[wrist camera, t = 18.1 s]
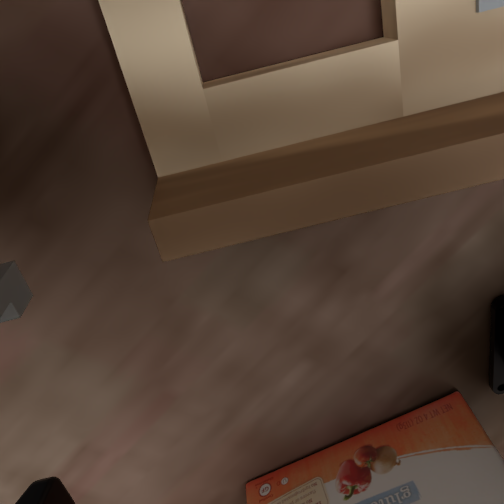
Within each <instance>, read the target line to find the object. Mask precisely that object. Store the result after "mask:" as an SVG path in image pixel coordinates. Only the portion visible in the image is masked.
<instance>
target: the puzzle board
mask: <svg viewBox="0 0 504 504" xmlns="http://www.w3.org/2000/svg"><path fill="white" fill-rule="evenodd" d="M98 1H99V4H100V7H101V10H102V13H103V16H104V19H105V22H106V25H107V28H108V31H109V33H110V36H111V39H112V42H113V45H114V48H115V51H116V54H117V57H118V60H119V63H120V66H121V69H122V72H123V75H124V78H125V81H126V84H127V87H128V90H129V93H130V96H131V99H132V102H133V105H134V108H135V111H136V114H137V117H138V119H139V122H140V125H141V128H142V131H143V134H144V137H145V140H146V143H147V146H148V149H149V152H150V155H151V158H152V161H153V164H154V167H155V170H156V173H157V176H158V180H157V184H156V188H155V192H154V196H153V201H152V205H151V209H150V213H149V217H148V223H149V226H150V229H151V232H152V234H153V237H154V240H155V242H156V245H157V248H158V251H159V253H160V256H161V259H162V262H165V261H170V260H174V259H178V258H182V257H186V256H190V255H194V254H198V253H202V252H206V251H211V250H215V249H219V248H223V247H227V246H231V245H235V244H239V243H243V242H247V241H251V240H256V239H260V238H264V237H268V236H272V235H276V234H280V233H284V232H288V231H292V230H297V229H301V228H305V227H309V226H313V225H317V224H321V223H325V222H329V221H333V220H338V219H342V218H346V217H350V216H354V215H358V214H362V213H366V212H370V211H374V210H378V209H383V208H387V207H391V206H395V205H399V204H403V203H407V202H411V201H415V200H419V199H424V198H428V197H432V196H436V195H440V194H444V193H448V192H452V191H456V190H460V189H464V188H469V187H473V186H477V185H481V184H485V183H489V182H493V181H497V180H501V179H504V0H381V10H382V22H383V34H384V37H381V38H377V39H373V40H369V41H365V42H361V43H358V44H354V45H350V46H346V47H342V48H338V49H334V50H330V51H326V52H322V53H318V54H314V55H310V56H306V57H302V58H298V59H294V60H290V61H286V62H282V63H278V64H274V65H270V66H266V67H263V68H259V69H255V70H251V71H247V72H243V73H239V74H235V75H231V76H227V77H223V78H219V79H215V80H211V81H207V82H203V81H202V77H201V74H200V70H199V66H198V62H197V58H196V55H195V51H194V47H193V43H192V39H191V35H190V32H189V28H188V24H187V20H186V16H185V13H184V9H183V5H182V1H181V0H98Z"/></svg>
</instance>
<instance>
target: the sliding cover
mask: <svg viewBox="0 0 504 504" xmlns="http://www.w3.org/2000/svg"><path fill="white" fill-rule="evenodd" d="M32 296H33V294H32V293H31V291H30V289H29V287H28V285H27V283H26V281H25V280H24V278H23V276H22V274H21V272H20V270H19V268H18V267H17V265H16V263H15V261H11V262H7V263H3V264H0V323H1V322H5V321H9V320H13V319H17V318H20V317H21V316H22V314H23V312H24V310H25V309H26V307H27V305H28V303H29V302H30V300H31V298H32Z"/></svg>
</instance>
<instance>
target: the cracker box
mask: <svg viewBox="0 0 504 504" xmlns="http://www.w3.org/2000/svg"><path fill="white" fill-rule="evenodd" d="M246 496H247V504H504V460H503V459H502V457H501V455H500V454H499V452H498V451H497V449H496V448H495V446H494V445H493V443H492V442H491V440H490V439H489V437H488V436H487V434H486V432H485V431H484V429H483V428H482V426H481V425H480V423H479V421H478V420H477V418H476V417H475V415H474V414H473V412H472V410H471V409H470V407H469V406H468V404H467V403H466V401H465V400H464V398H463V397H462V395H461V394H460V392H458V391H456V392H454V393H452V394H450V395H448V396H446V397H444V398H441V399H439V400H437V401H434V402H432V403H430V404H427V405H425V406H423V407H421V408H418V409H416V410H414V411H412V412H409V413H407V414H405V415H402V416H400V417H398V418H396V419H393V420H391V421H389V422H386V423H384V424H382V425H379V426H377V427H375V428H372V429H370V430H368V431H365V432H363V433H361V434H359V435H357V436H354V437H352V438H350V439H347V440H345V441H343V442H341V443H338V444H335V445H333V446H331V447H329V448H327V449H324V450H322V451H320V452H317V453H315V454H313V455H310V456H308V457H306V458H304V459H301V460H299V461H297V462H294V463H292V464H290V465H288V466H285V467H283V468H281V469H278V470H276V471H274V472H271V473H269V474H267V475H264V476H262V477H260V478H257V479H255V480H253V481H250V482H248V483H247V484H246Z"/></svg>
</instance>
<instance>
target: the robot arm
mask: <svg viewBox="0 0 504 504" xmlns="http://www.w3.org/2000/svg"><path fill="white" fill-rule="evenodd" d="M503 305H504V295H502V296H499V297H497V298H496V299H495V300H494V301H493V302H492V305H491V332H490V375H489V385H490V388H491V389H492V390H493V392H494V393H496V394H504V306H503ZM502 306H503V307H502ZM501 307H502V308H501ZM15 504H75V502H74V500H73V499H72V497H71V496H70V494H69V493H68V491H67V490H66V488H65V487H64V485H63V484H62V482H61V480H60V479H59V478H57V477H49V478H45V479H40V480H37V481H35V482H33V483H32V484H31V485H30V486H29V487H28V488H27V490H26V491H25V492H24V493H23V495H22V496H21V497H20V498H19V500H18V501H17V502H16V503H15Z"/></svg>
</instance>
